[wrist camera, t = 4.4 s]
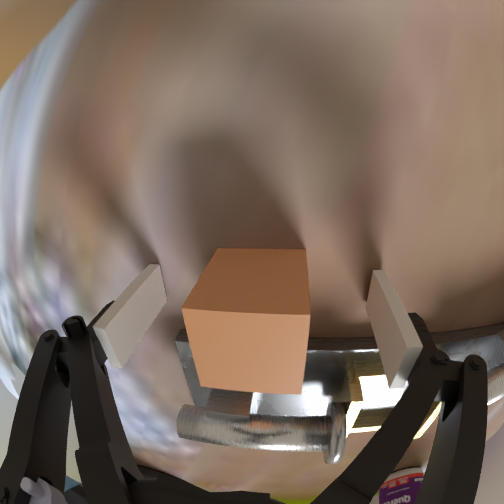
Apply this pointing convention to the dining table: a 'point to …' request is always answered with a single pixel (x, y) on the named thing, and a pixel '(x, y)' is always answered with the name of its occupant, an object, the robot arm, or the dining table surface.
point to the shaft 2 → (496, 370)
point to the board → (349, 377)
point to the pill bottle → (401, 487)
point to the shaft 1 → (263, 426)
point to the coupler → (250, 320)
